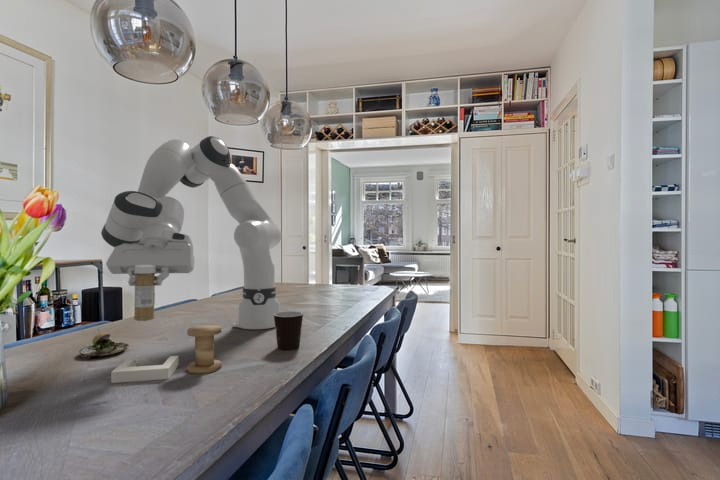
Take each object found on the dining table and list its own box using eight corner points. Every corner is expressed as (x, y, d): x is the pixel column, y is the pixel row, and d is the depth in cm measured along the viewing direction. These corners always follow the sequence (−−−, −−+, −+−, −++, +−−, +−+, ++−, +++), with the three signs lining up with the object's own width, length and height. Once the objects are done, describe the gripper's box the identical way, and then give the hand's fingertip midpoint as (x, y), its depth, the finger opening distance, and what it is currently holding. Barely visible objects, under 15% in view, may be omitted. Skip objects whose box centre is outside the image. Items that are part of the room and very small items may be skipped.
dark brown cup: (297, 352, 113) (297, 317, 113) (269, 350, 115) (268, 316, 115) (310, 341, 125) (310, 310, 124) (284, 340, 126) (284, 309, 126)
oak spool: (190, 364, 102) (190, 325, 102) (223, 362, 104) (223, 324, 104) (184, 375, 95) (184, 333, 94) (219, 372, 96) (219, 331, 96)
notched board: (127, 368, 99) (127, 358, 99) (178, 365, 102) (178, 355, 102) (111, 383, 89) (111, 372, 89) (168, 378, 92) (168, 368, 92)
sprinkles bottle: (155, 317, 100) (156, 264, 100) (153, 320, 96) (154, 265, 96) (134, 317, 99) (136, 264, 98) (131, 321, 94) (133, 265, 94)
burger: (85, 363, 104) (85, 335, 104) (73, 354, 112) (73, 328, 112) (135, 353, 113) (135, 327, 113) (120, 346, 121) (120, 321, 121)
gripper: (112, 235, 103) (93, 276, 93) (195, 235, 106) (185, 275, 96) (120, 251, 107) (102, 292, 98) (199, 251, 110) (190, 291, 101)
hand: (144, 284), depth 97 cm, fingers closed on sprinkles bottle, 4 cm apart
